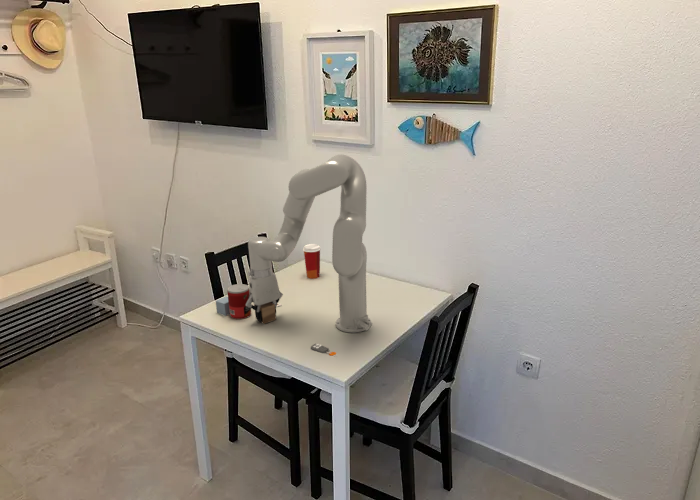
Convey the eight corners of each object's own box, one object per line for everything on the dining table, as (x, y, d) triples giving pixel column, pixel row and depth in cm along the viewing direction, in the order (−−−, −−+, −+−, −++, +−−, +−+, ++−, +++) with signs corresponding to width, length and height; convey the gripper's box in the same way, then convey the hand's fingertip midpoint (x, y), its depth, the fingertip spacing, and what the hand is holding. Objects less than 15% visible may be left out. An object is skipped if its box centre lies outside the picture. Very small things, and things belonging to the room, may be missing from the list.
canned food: (249, 319, 197) (246, 291, 194) (227, 319, 197) (224, 292, 194) (253, 310, 205) (250, 283, 201) (232, 310, 205) (229, 283, 201)
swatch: (281, 305, 208) (281, 304, 208) (268, 309, 204) (268, 308, 204) (274, 300, 212) (274, 299, 212) (260, 304, 209) (260, 303, 209)
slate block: (235, 311, 204) (234, 299, 203) (225, 316, 201) (224, 303, 199) (227, 308, 207) (225, 296, 206) (216, 312, 203) (215, 300, 202)
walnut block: (276, 319, 196) (274, 304, 194) (263, 323, 193) (262, 308, 191) (269, 315, 199) (267, 300, 198) (257, 319, 197) (255, 304, 195)
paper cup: (315, 272, 241) (313, 242, 236) (325, 276, 235) (324, 246, 230) (300, 276, 236) (298, 246, 231) (311, 281, 230) (309, 250, 226)
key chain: (309, 350, 175) (309, 346, 175) (316, 346, 178) (316, 342, 178) (340, 362, 168) (340, 358, 168) (348, 357, 171) (347, 353, 170)
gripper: (245, 280, 182) (250, 328, 188) (288, 268, 192) (291, 314, 198) (235, 274, 188) (240, 321, 194) (277, 263, 198) (281, 308, 204)
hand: (266, 317), depth 196 cm, fingers closed on walnut block, 5 cm apart
